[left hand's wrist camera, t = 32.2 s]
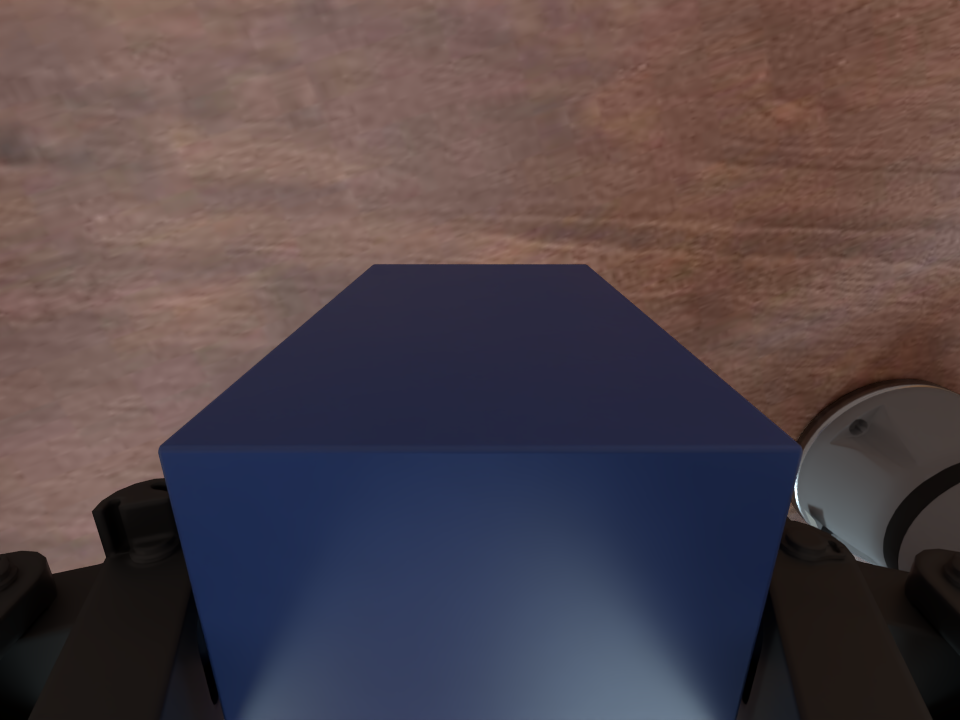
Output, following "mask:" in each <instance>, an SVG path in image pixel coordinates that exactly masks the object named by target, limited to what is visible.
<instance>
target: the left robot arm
mask: <svg viewBox="0 0 960 720" xmlns="http://www.w3.org/2000/svg"><path fill="white" fill-rule="evenodd" d="M797 443H798V444H799V445H801V447H802V451H803V454H802V458H801V462H800V466H799V470H798V474H797V478H796V482H795V486H794V490H793V494H792V498H791V502H792V504H793V506H794V508H795V509H796V511H797V512H798V513H799V515H800V516H801V517H802V518H803V519H804V520H805V521H806V522H807V523H808V524H809V525H808V524H804V523H801V522H797V521H791V520H790V519H789V518H788V517H787V518H786V522H785V526H784V530H783V534H782V538H781V542H780V546H779V550H778V554H777V558H776V562H775V566H774V570H773V574H772V578H771V582H770V586H769V590H768V594H767V598H766V602H765V606H764V610H763V614H762V618H761V622H760V626H759V630H758V634H757V638H756V642H755V646H754V650H753V654H752V658H751V662H750V666H749V670H748V674H747V678H746V682H745V686H744V690H743V694H742V698H741V702H740V706H739V710H738V715H737V719H736V720H960V395H959V394H957V393H955V392H953V391H951V390H948V389H946V388H944V387H942V386H940V385H937V384H934V383H931V382H927V381H923V380H916V379H895V380H888V381H883V382H878V383H874V384H871V385H868V386H865V387H862V388H860V389H857V390H855V391H853V392H851V393H849V394H847V395H845V396H843V397H842V398H840V399H838V400H837V401H835V402H834V403H832V404H831V405H830V406H828V407H827V408H826V409H825V410H823V411H822V412H821V413H820V414H819V415H818V416H817V417H816V418H815V419H814V420H813V421H812V422H811V423H810V424H809V425H808V427H807V428H806V429H805V430H804V432H803V433H802V435H801V436H800V438H799V439H798V441H797ZM92 514H93V517H94V520H95V523H96V526H97V530H98V533H99V536H100V539H101V542H102V545H103V549H104V552H105V555H106V559H105V561H104V563H102V564H98V565H93V566H89V567H84V568H79V569H74V570H69V571H65V572H60V573H55V574H52V573H51V570H50V568H49V565H48V562H47V559H46V557H44V556H43V555H41V554H40V553H38V552H32V551H18V552H12V553H6V554H0V720H224V716H223V712H222V708H221V704H220V700H219V696H218V692H217V688H216V683H215V679H214V675H213V671H212V667H211V663H210V659H209V655H208V651H207V647H206V643H205V639H204V635H203V631H202V627H201V623H200V619H199V615H198V611H197V607H196V603H195V599H194V595H193V591H192V587H191V583H190V579H189V575H188V571H187V567H186V562H185V558H184V554H183V550H182V546H181V542H180V538H179V534H178V530H177V526H176V522H175V518H174V514H173V510H172V506H171V502H170V498H169V494H168V490H167V486H166V482H165V478H161V479H152V480H148V481H144V482H140V483H136V484H133V485H131V486H128V487H126V488H124V489H121V490H119V491H117V492H115V493H113V494H112V495H110V496H109V497H107V498H106V499H104V500H102V501H101V502H100V503H99V504H98V505H97V506H96V508H95V509H94V510H93V511H92ZM852 554H854V555H856V556H858V557H860V558H862V559H864V560H865V561H867V562H869V563H871V564H868V563H864V562H860V561H856V560H855V558H854V556H853V555H852Z"/></svg>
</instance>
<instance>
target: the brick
mask: <svg viewBox="0 0 960 720" xmlns="http://www.w3.org/2000/svg"><path fill="white" fill-rule="evenodd" d="M158 454H159V458H160V462H161V466H162V470H163V474H164V478H165V482H166V486H167V490H168V494H169V498H170V502H171V506H172V510H173V514H174V518H175V522H176V526H177V530H178V534H179V538H180V542H181V546H182V550H183V554H184V558H185V562H186V567H187V571H188V575H189V579H190V583H191V587H192V591H193V595H194V599H195V603H196V607H197V611H198V615H199V619H200V623H201V627H202V631H203V635H204V639H205V643H206V647H207V651H208V655H209V659H210V663H211V667H212V671H213V675H214V679H215V683H216V688H217V692H218V696H219V700H220V704H221V708H222V712H223V716H224V720H736V719H737V715H738V710H739V706H740V702H741V698H742V694H743V690H744V686H745V682H746V678H747V674H748V670H749V666H750V662H751V658H752V654H753V650H754V646H755V642H756V638H757V634H758V630H759V626H760V622H761V618H762V614H763V610H764V606H765V602H766V598H767V594H768V590H769V586H770V582H771V578H772V574H773V570H774V566H775V562H776V558H777V554H778V550H779V546H780V542H781V538H782V534H783V530H784V526H785V522H786V518H787V514H788V510H789V506H790V502H791V498H792V494H793V490H794V486H795V482H796V478H797V474H798V470H799V466H800V462H801V458H802V454H803V451H802V447H801V445H799V444H798V443H797V442H796V441H795V440H793V439H792V438H791V437H790V436H789V435H788V434H786V433H785V432H784V431H783V430H782V429H780V428H779V427H778V426H777V425H776V424H775V423H773V422H772V421H771V420H770V419H769V418H767V417H766V416H765V415H764V414H763V413H762V412H760V411H759V410H758V409H757V408H756V407H754V406H753V405H752V404H751V403H750V402H748V401H747V400H746V399H745V398H744V397H743V396H741V395H740V394H739V393H738V392H737V391H735V390H734V389H733V388H732V387H731V386H730V385H728V384H727V383H726V382H725V381H724V380H722V379H721V378H720V377H719V376H718V375H717V374H715V373H714V372H713V371H712V370H711V369H709V368H708V367H707V366H706V365H705V364H704V363H702V362H701V361H700V360H699V359H698V358H696V357H695V356H694V355H693V354H692V353H691V352H689V351H688V350H687V349H686V348H685V347H683V346H682V345H681V344H680V343H679V342H678V341H676V340H675V339H674V338H673V337H672V336H670V335H669V334H668V333H667V332H666V331H665V330H663V329H662V328H661V327H660V326H659V325H657V324H656V323H655V322H654V321H653V320H652V319H650V318H649V317H648V316H647V315H646V314H644V313H643V312H642V311H641V310H640V309H639V308H637V307H636V306H635V305H634V304H633V303H631V302H630V301H629V300H628V299H627V298H626V297H624V296H623V295H622V294H621V293H620V292H618V291H617V290H616V289H615V288H614V287H613V286H611V285H610V284H609V283H608V282H607V281H605V280H604V279H603V278H602V277H601V276H599V275H598V274H597V273H596V272H595V271H594V270H592V269H591V268H590V267H589V266H588V265H586V264H374V265H372V266H371V267H370V268H369V269H368V270H367V271H365V272H364V273H363V274H362V275H361V276H359V277H358V278H357V279H356V280H355V281H354V282H352V283H351V284H350V285H349V286H348V287H346V288H345V289H344V290H343V291H342V292H341V293H339V294H338V295H337V296H336V297H335V298H334V299H332V300H331V301H330V302H329V303H328V304H326V305H325V306H324V307H323V308H322V309H321V310H319V311H318V312H317V313H316V314H315V315H314V316H312V317H311V318H310V319H309V320H308V321H306V322H305V323H304V324H303V325H302V326H301V327H299V328H298V329H297V330H296V331H295V332H294V333H292V334H291V335H290V336H289V337H288V338H286V339H285V340H284V341H283V342H282V343H281V344H279V345H278V346H277V347H276V348H275V349H274V350H272V351H271V352H270V353H269V354H268V355H266V356H265V357H264V358H263V359H262V360H261V361H259V362H258V363H257V364H256V365H255V366H253V367H252V368H251V369H250V370H249V371H248V372H246V373H245V374H244V375H243V376H242V377H241V378H239V379H238V380H237V381H236V382H235V383H233V384H232V385H231V386H230V387H229V388H228V389H226V390H225V391H224V392H223V393H222V394H221V395H219V396H218V397H217V398H216V399H215V400H213V401H212V402H211V403H210V404H209V405H208V406H206V407H205V408H204V409H203V410H202V411H201V412H199V413H198V414H197V415H196V416H195V417H193V418H192V419H191V420H190V421H189V422H188V423H186V424H185V425H184V426H183V427H182V428H181V429H179V430H178V431H177V432H176V433H175V434H173V435H172V436H171V437H170V438H169V439H168V440H166V441H165V442H164V443H163V444H162V445H160V447H159V451H158Z"/></svg>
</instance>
